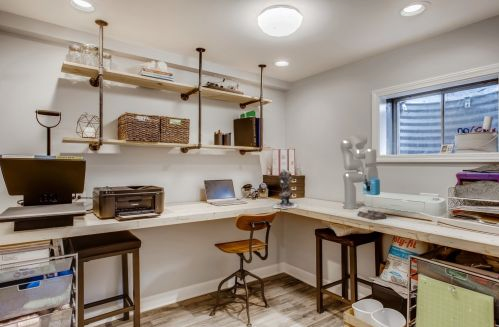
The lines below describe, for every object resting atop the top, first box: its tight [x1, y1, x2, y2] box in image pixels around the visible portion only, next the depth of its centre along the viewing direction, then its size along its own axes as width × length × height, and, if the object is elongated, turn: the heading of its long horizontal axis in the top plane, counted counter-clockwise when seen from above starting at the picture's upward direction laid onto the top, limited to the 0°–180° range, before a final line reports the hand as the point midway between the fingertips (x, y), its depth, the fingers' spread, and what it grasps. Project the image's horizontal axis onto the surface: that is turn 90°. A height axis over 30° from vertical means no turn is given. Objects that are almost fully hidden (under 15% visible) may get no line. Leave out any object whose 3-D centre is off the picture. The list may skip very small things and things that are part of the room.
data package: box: [362, 177, 381, 196], centre depth 212 cm, size 12×4×12 cm, turn 23°
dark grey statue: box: [271, 169, 299, 210], centre depth 266 cm, size 22×25×35 cm
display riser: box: [356, 209, 387, 221], centre depth 212 cm, size 16×12×4 cm
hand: (371, 190), depth 212 cm, fingers closed on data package, 4 cm apart
